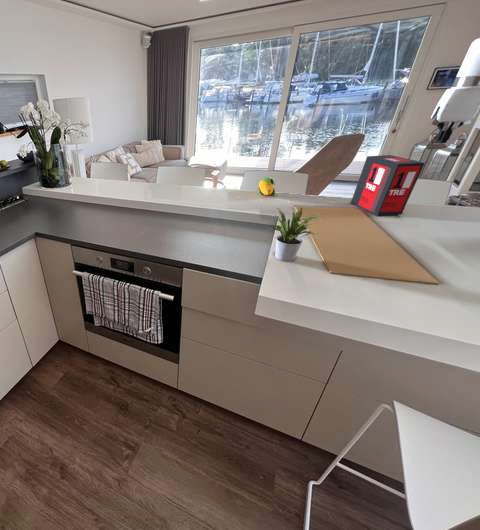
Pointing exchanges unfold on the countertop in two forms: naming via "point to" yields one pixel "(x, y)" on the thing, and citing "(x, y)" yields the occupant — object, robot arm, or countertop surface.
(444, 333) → the countertop surface
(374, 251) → the mat
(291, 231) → the house plant
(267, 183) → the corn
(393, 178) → the cleaning product box
